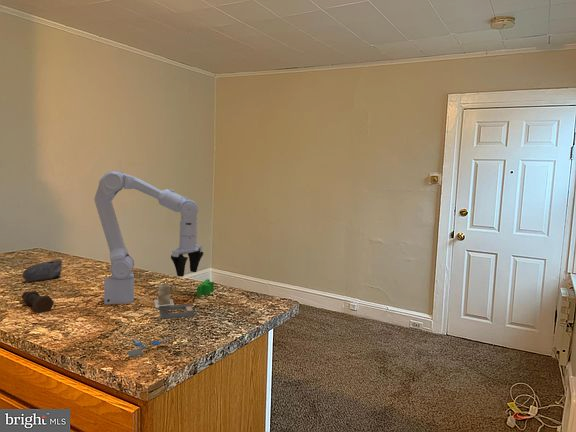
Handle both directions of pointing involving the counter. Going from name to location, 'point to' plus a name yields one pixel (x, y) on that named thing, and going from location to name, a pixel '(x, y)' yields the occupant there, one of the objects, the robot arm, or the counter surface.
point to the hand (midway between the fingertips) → (187, 274)
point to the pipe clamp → (205, 288)
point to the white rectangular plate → (162, 305)
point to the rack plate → (165, 313)
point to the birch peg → (164, 294)
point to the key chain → (138, 351)
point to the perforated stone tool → (43, 271)
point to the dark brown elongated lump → (38, 301)
